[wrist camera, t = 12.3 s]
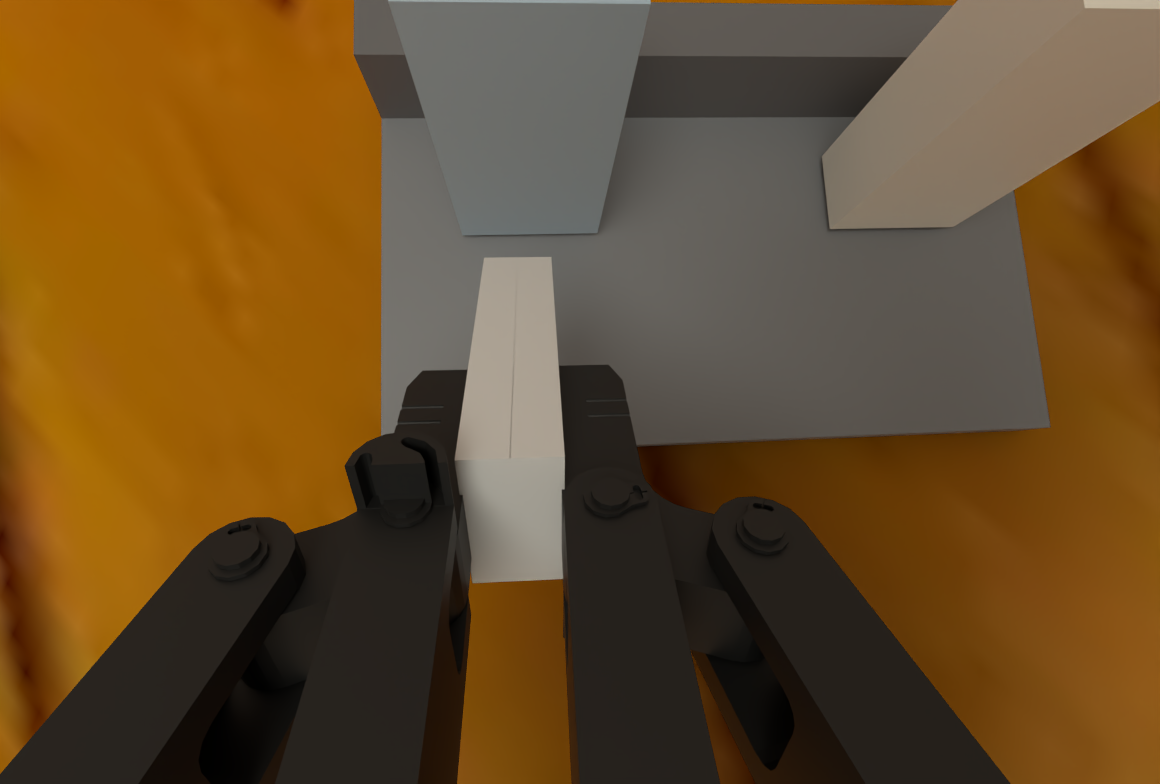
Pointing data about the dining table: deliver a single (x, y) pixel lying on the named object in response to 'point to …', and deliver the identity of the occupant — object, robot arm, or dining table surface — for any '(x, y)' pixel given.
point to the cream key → (991, 108)
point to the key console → (728, 246)
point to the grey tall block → (524, 104)
